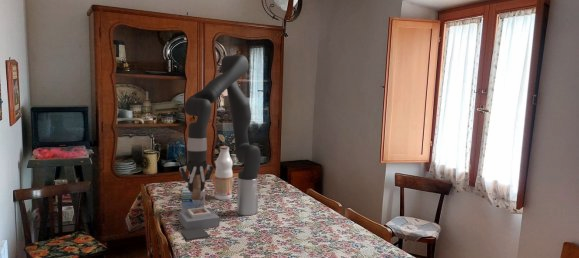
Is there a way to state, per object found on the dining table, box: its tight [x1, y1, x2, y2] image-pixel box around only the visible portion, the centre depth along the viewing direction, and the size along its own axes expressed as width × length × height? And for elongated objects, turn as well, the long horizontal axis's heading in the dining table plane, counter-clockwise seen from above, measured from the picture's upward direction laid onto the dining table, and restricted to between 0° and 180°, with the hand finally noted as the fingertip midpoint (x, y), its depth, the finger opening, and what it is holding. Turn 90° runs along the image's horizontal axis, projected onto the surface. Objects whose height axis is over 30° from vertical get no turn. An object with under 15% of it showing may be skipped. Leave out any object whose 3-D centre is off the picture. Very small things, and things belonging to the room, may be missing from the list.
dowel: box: [191, 174, 201, 200], centre depth 151 cm, size 4×4×10 cm
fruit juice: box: [214, 145, 234, 201], centre depth 203 cm, size 9×9×28 cm
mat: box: [180, 228, 210, 241], centre depth 153 cm, size 9×9×1 cm
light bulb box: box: [180, 187, 206, 211], centre depth 180 cm, size 11×7×11 cm, turn 105°
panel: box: [178, 206, 221, 231], centre depth 166 cm, size 14×14×6 cm
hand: (196, 191), depth 151 cm, fingers closed on dowel, 3 cm apart
